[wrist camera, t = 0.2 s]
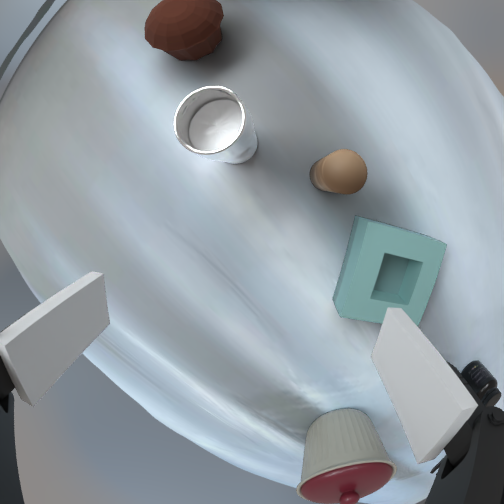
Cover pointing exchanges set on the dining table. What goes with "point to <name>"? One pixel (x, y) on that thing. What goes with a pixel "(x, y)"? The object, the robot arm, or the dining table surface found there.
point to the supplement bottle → (482, 383)
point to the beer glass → (216, 125)
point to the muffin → (185, 27)
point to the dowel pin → (339, 172)
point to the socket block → (386, 271)
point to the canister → (343, 459)
